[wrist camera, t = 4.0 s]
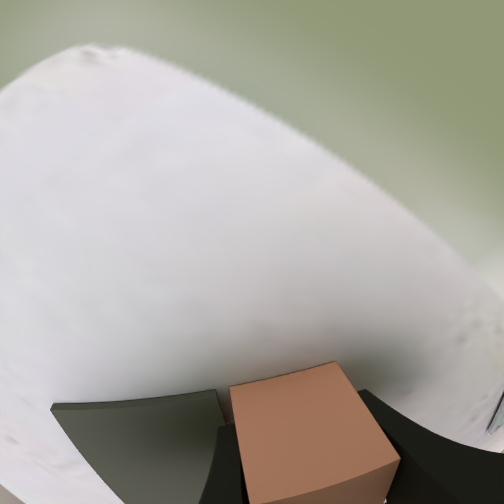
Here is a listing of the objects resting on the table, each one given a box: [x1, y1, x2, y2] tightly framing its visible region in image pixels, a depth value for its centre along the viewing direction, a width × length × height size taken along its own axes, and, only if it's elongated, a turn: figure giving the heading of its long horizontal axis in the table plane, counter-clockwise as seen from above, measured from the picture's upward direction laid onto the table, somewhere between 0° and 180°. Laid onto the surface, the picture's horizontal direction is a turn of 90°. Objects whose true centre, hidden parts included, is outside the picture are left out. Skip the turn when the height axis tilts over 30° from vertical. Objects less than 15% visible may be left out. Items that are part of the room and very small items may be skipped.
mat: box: [50, 389, 227, 504], centre depth 11 cm, size 7×10×1 cm
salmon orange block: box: [229, 361, 401, 504], centre depth 10 cm, size 4×10×5 cm, turn 9°
